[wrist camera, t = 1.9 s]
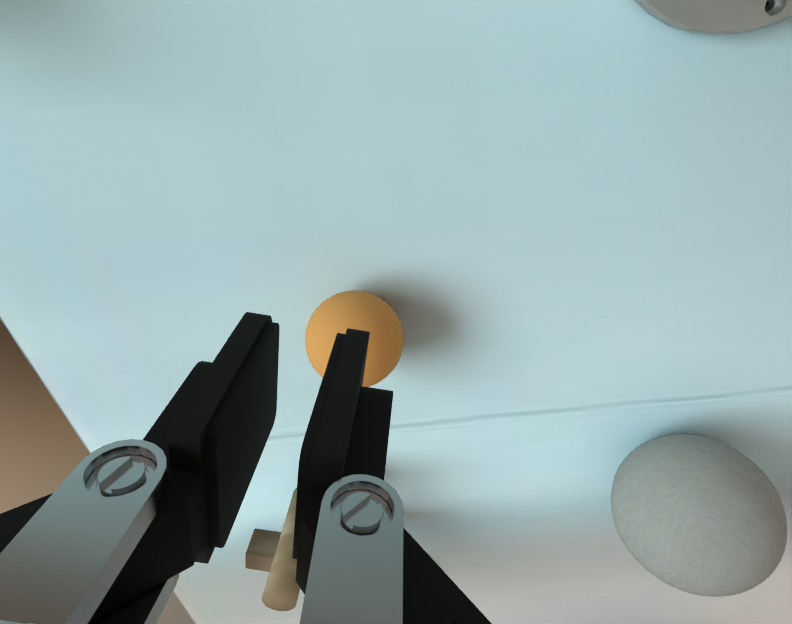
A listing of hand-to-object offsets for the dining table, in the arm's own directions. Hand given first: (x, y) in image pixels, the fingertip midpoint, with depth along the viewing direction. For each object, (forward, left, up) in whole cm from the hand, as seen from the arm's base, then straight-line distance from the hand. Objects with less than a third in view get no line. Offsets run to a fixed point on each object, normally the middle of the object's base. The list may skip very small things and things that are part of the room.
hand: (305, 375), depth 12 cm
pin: (+2, +28, -19) cm, 34 cm away
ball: (-24, +18, -19) cm, 35 cm away
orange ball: (0, +10, -16) cm, 19 cm away
